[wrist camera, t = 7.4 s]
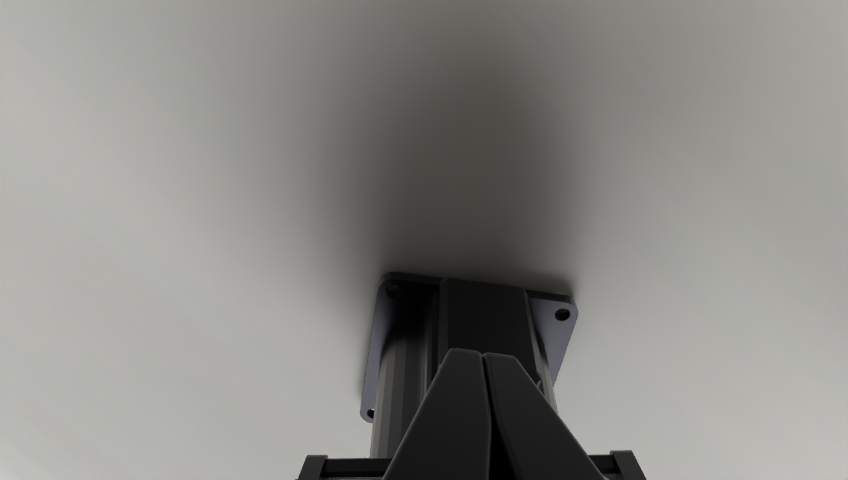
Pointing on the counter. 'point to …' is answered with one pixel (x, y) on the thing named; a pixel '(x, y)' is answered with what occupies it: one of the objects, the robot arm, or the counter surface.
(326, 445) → the counter surface
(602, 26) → the counter surface
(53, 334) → the counter surface
